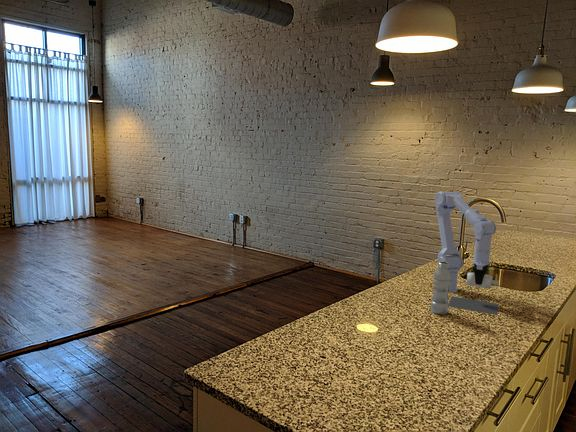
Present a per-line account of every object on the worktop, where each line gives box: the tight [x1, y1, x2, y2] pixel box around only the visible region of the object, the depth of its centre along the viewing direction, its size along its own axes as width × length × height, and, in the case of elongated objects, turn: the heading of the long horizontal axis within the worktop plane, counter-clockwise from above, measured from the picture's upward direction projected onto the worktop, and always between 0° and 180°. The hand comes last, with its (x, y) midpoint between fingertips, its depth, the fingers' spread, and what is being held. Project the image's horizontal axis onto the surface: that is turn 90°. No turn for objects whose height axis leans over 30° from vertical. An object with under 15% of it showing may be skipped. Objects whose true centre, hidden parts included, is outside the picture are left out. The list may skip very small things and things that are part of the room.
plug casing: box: [466, 271, 500, 289], centre depth 180 cm, size 12×4×4 cm, turn 63°
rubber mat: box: [448, 295, 499, 316], centre depth 179 cm, size 18×14×1 cm
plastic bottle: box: [429, 262, 452, 315], centre depth 168 cm, size 6×7×20 cm
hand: (478, 282), depth 181 cm, fingers closed on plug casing, 4 cm apart
